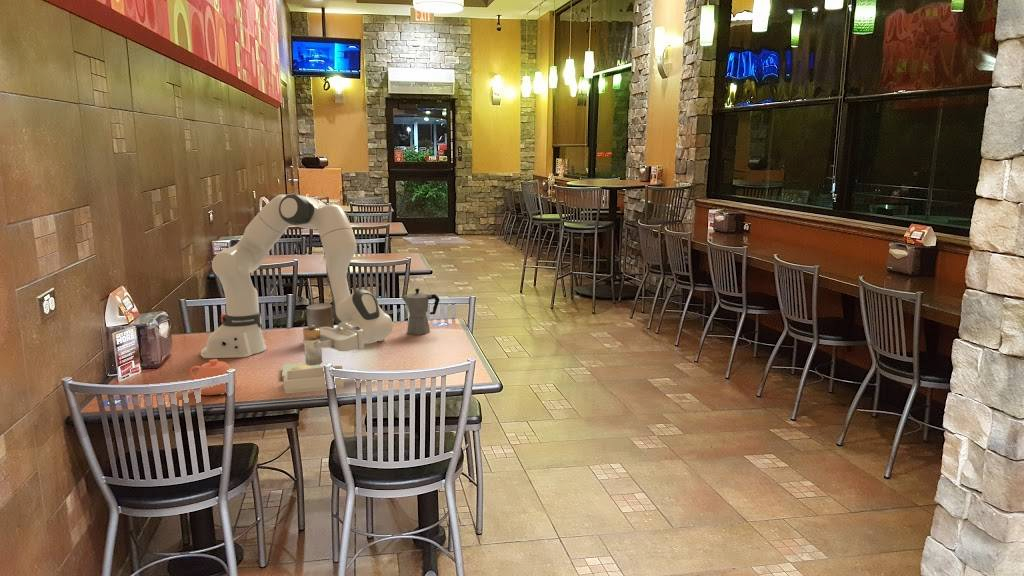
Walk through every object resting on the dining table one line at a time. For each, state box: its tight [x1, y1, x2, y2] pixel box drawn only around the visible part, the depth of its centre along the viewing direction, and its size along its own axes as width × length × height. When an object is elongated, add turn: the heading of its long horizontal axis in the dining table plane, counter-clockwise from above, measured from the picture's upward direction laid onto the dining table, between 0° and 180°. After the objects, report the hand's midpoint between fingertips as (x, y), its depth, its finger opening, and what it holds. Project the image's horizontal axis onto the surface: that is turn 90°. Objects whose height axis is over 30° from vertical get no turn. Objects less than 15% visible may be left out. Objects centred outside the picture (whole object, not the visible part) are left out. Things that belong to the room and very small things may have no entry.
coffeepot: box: [400, 288, 440, 336], centre depth 280 cm, size 15×9×18 cm, turn 88°
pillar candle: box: [306, 302, 335, 328], centre depth 269 cm, size 10×10×15 cm
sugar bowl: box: [189, 358, 238, 396], centre depth 213 cm, size 12×14×10 cm
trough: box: [283, 365, 345, 394], centre depth 219 cm, size 18×11×4 cm, turn 106°
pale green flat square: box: [281, 362, 321, 381], centre depth 231 cm, size 12×12×2 cm
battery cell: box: [302, 325, 323, 365], centre depth 217 cm, size 5×5×12 cm
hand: (309, 343), depth 216 cm, fingers closed on battery cell, 5 cm apart
